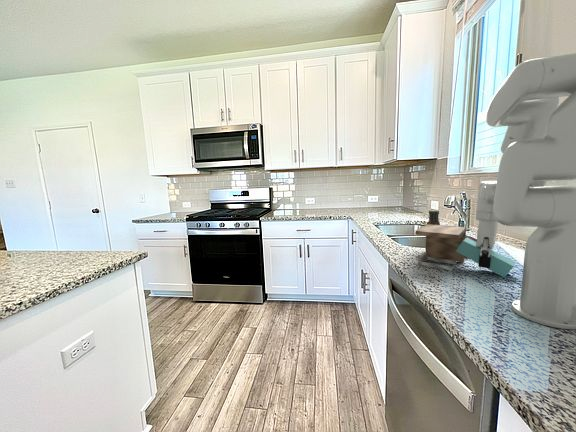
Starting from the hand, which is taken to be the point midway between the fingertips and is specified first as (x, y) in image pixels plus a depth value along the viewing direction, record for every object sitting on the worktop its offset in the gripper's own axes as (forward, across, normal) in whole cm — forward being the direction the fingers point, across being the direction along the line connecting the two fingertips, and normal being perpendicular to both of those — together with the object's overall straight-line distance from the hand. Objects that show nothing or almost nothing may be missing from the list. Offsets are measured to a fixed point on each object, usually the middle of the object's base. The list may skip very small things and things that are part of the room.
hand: (484, 264), depth 92 cm
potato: (+4, -22, -8) cm, 24 cm away
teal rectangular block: (-1, 0, -1) cm, 1 cm away
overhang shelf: (+3, +1, -14) cm, 15 cm away
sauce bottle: (+4, -16, -20) cm, 26 cm away
